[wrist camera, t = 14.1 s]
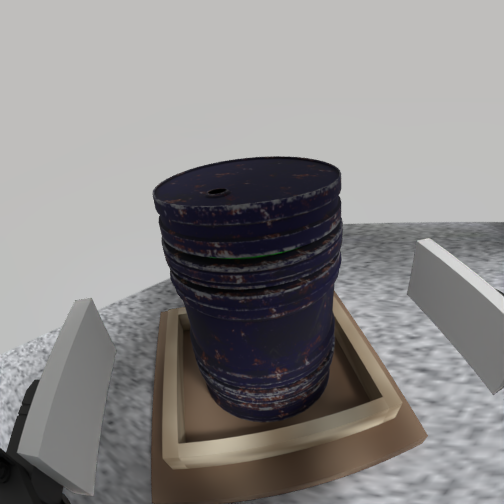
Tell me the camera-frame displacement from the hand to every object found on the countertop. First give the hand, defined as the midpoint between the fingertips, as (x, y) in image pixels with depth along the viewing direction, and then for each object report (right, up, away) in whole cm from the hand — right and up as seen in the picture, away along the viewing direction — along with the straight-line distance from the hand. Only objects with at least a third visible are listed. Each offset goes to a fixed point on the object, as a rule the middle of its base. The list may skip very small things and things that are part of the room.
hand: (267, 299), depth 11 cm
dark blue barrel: (+1, -8, +11) cm, 13 cm away
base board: (+1, -8, +12) cm, 14 cm away
